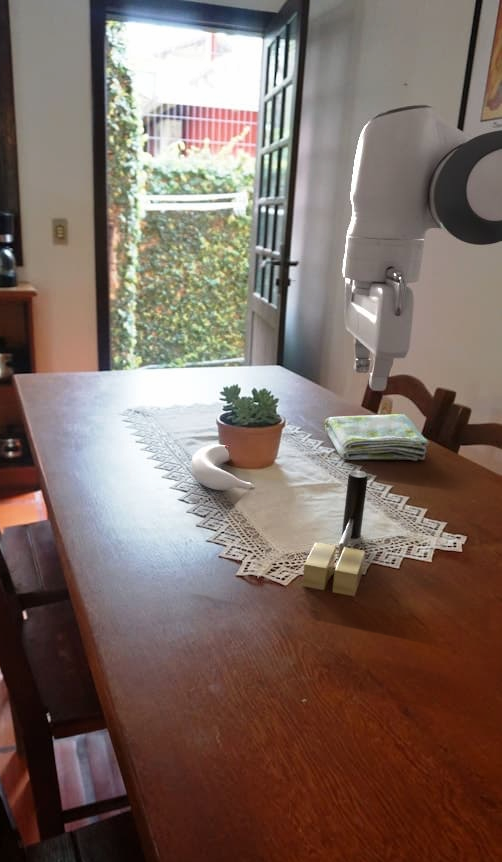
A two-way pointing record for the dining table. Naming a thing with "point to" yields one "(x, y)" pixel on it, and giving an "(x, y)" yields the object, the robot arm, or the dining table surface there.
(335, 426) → the towel
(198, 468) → the banana
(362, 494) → the knife
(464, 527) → the dining table surface
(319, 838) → the dining table surface
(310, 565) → the slotted cream block
